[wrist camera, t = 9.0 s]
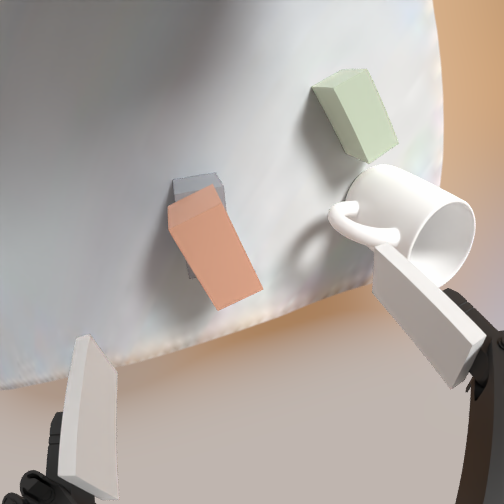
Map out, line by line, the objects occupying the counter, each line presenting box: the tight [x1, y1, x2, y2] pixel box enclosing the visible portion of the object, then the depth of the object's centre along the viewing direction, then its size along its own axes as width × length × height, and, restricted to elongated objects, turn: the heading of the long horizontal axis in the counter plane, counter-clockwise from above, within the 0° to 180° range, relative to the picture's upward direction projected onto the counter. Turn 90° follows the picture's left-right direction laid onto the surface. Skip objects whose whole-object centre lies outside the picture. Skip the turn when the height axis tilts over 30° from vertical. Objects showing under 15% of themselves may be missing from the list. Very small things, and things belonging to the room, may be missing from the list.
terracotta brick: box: [168, 184, 263, 311], centre depth 22 cm, size 7×4×4 cm, turn 23°
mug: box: [328, 164, 476, 288], centre depth 26 cm, size 12×8×10 cm
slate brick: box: [173, 173, 226, 279], centre depth 25 cm, size 7×4×4 cm, turn 5°
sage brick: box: [311, 69, 399, 164], centre depth 24 cm, size 7×4×4 cm, turn 33°
